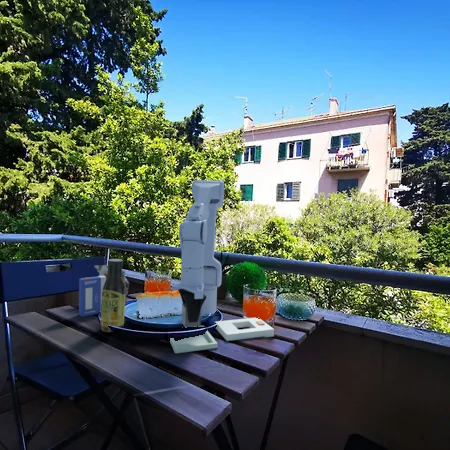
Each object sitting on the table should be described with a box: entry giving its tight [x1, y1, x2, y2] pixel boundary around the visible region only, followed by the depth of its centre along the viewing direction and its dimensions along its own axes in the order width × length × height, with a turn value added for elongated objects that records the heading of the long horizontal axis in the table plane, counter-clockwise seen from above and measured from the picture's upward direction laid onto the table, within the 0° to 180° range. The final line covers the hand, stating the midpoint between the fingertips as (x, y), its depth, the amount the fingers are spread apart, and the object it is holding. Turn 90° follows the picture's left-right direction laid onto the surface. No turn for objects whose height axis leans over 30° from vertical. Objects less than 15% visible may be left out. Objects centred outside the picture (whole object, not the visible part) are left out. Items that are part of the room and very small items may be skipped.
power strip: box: [214, 317, 275, 342], centre depth 89 cm, size 10×14×2 cm
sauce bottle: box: [100, 258, 126, 333], centre depth 88 cm, size 6×6×20 cm
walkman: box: [78, 275, 106, 318], centre depth 101 cm, size 8×3×12 cm, turn 135°
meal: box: [93, 264, 130, 303], centre depth 112 cm, size 15×4×13 cm, turn 65°
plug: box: [181, 302, 202, 328], centre depth 82 cm, size 4×4×5 cm
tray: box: [169, 325, 219, 354], centre depth 82 cm, size 13×11×2 cm
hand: (191, 318), depth 82 cm, fingers closed on plug, 4 cm apart
